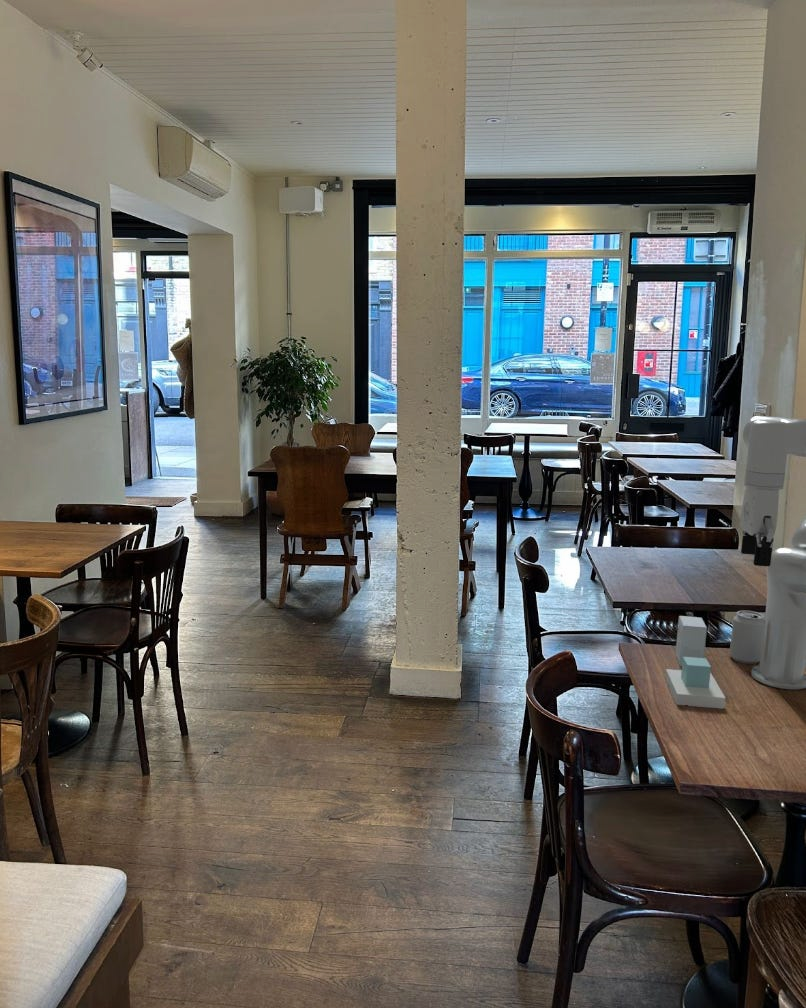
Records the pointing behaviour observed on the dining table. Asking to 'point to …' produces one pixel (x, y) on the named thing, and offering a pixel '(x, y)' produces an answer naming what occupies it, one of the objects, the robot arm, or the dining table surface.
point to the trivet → (694, 692)
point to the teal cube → (695, 672)
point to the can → (747, 637)
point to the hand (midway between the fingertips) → (755, 559)
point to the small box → (690, 638)
